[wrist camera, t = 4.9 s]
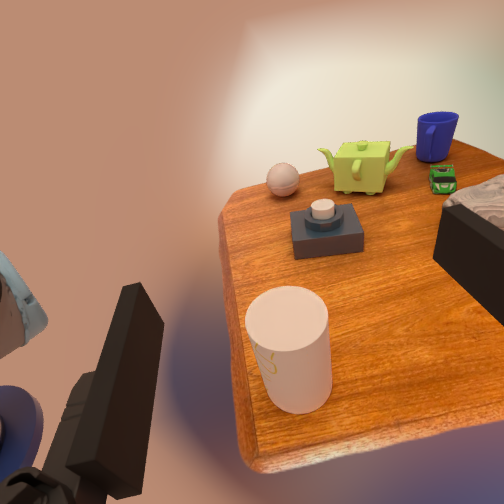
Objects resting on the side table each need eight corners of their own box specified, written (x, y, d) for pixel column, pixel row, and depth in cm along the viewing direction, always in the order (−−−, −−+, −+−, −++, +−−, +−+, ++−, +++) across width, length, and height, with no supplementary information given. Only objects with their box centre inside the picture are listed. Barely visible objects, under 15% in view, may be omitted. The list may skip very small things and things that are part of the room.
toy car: (457, 194, 61) (460, 184, 59) (431, 194, 62) (432, 184, 61) (451, 173, 68) (454, 163, 66) (427, 174, 70) (429, 164, 68)
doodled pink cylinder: (262, 355, 40) (243, 293, 33) (322, 345, 40) (317, 280, 32) (268, 419, 34) (246, 358, 27) (340, 408, 33) (338, 342, 26)
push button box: (295, 259, 55) (291, 232, 51) (292, 229, 62) (288, 204, 59) (363, 251, 53) (364, 223, 49) (351, 221, 61) (351, 194, 57)
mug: (404, 170, 73) (408, 128, 67) (417, 151, 80) (422, 111, 74) (442, 173, 68) (451, 128, 63) (453, 152, 75) (462, 110, 69)
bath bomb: (267, 191, 79) (261, 162, 74) (296, 184, 78) (293, 154, 74) (272, 205, 72) (266, 174, 67) (304, 198, 72) (301, 166, 67)
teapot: (319, 185, 75) (316, 143, 69) (363, 169, 78) (364, 126, 72) (358, 209, 64) (359, 160, 57) (409, 188, 66) (415, 140, 60)
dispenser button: (313, 222, 53) (312, 211, 52) (311, 210, 56) (310, 200, 55) (336, 219, 52) (336, 208, 51) (332, 207, 56) (332, 197, 54)
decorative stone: (435, 223, 50) (462, 162, 46) (438, 210, 61) (460, 159, 56) (545, 254, 43) (588, 186, 39) (526, 233, 54) (558, 177, 50)
